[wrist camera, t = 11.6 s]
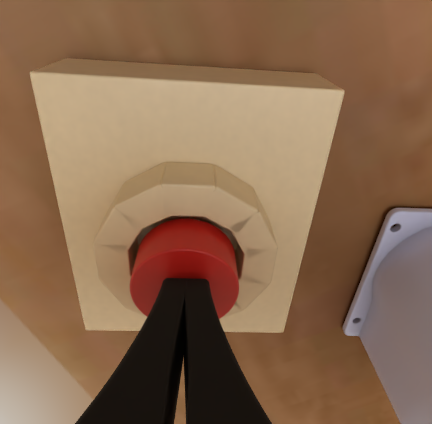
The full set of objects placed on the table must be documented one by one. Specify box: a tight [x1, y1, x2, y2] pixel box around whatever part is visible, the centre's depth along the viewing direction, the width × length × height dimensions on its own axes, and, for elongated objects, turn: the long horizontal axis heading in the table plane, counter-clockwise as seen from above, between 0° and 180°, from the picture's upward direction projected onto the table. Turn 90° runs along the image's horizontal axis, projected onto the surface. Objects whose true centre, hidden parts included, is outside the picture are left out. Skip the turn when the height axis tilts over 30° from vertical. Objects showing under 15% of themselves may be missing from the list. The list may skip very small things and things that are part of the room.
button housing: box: [30, 58, 345, 333], centre depth 14 cm, size 12×10×5 cm
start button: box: [130, 219, 239, 319], centre depth 12 cm, size 4×4×2 cm
